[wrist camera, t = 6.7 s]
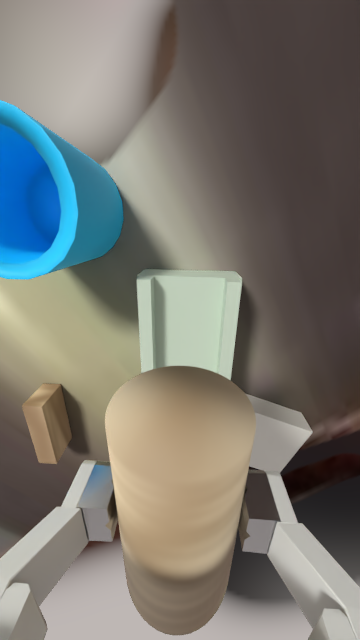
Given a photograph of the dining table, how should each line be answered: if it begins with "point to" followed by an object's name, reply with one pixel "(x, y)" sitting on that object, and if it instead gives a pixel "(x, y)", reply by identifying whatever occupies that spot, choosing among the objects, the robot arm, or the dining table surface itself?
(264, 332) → the dining table surface
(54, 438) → the wooden brick
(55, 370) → the dining table surface
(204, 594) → the roller
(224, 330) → the cradle
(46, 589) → the robot arm
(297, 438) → the slab
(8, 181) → the mug
